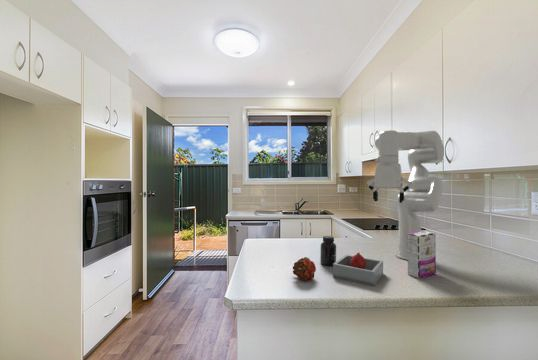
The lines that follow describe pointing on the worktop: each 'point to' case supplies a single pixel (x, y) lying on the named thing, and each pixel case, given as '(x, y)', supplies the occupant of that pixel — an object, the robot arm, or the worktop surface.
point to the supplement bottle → (328, 251)
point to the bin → (358, 271)
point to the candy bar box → (421, 254)
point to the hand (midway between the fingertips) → (388, 201)
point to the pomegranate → (358, 261)
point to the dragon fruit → (304, 268)
